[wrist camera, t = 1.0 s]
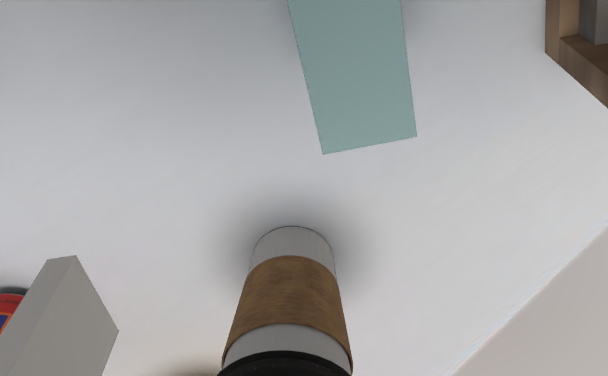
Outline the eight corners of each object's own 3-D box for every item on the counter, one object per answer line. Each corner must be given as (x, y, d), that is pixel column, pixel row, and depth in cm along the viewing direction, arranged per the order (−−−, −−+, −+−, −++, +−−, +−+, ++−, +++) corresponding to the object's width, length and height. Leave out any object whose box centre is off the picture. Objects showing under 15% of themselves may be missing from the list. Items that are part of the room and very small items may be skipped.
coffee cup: (342, 204, 37) (356, 386, 25) (355, 293, 42) (373, 486, 29) (224, 218, 38) (180, 402, 26) (250, 304, 43) (222, 497, 30)
